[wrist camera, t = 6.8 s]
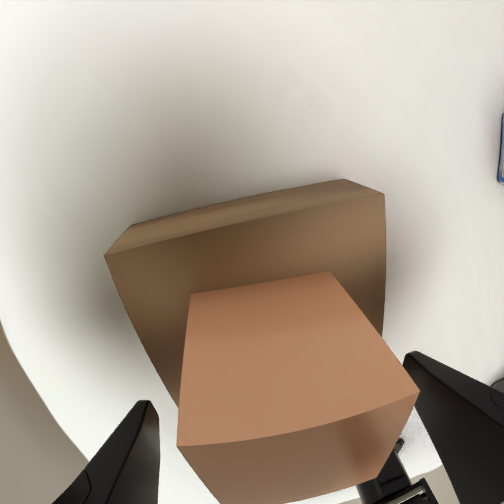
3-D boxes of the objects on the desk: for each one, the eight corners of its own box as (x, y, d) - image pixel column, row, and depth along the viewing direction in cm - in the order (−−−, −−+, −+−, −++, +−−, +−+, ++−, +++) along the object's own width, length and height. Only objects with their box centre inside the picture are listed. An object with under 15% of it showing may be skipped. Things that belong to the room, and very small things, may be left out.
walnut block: (349, 340, 17) (375, 383, 13) (192, 376, 17) (190, 427, 13) (340, 177, 13) (383, 193, 9) (133, 223, 13) (103, 255, 9)
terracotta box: (327, 367, 12) (376, 477, 7) (217, 388, 12) (226, 511, 6) (329, 270, 10) (420, 390, 5) (190, 294, 10) (176, 445, 4)
